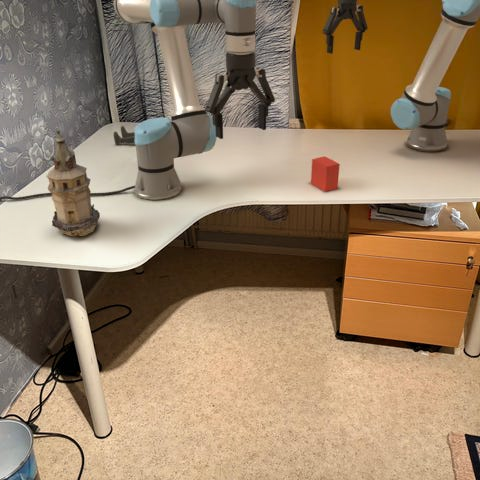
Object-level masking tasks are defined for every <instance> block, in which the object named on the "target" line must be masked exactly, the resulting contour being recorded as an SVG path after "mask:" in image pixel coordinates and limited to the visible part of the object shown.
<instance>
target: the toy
mask: <svg viewBox="0 0 480 480" xmlns="http://www.w3.org/2000/svg"><path fill="white" fill-rule="evenodd" d="M120 133H121V136H120V134H119V133H118V132H117V131H114V132H113V140H114V144H115V145H116V146H117V145H120V144H135V142H134V139H135V133H134V131H132V132H131V131H130V132H128V131H127V130H126V127H125V126H124V125H122V126H120Z"/></svg>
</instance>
